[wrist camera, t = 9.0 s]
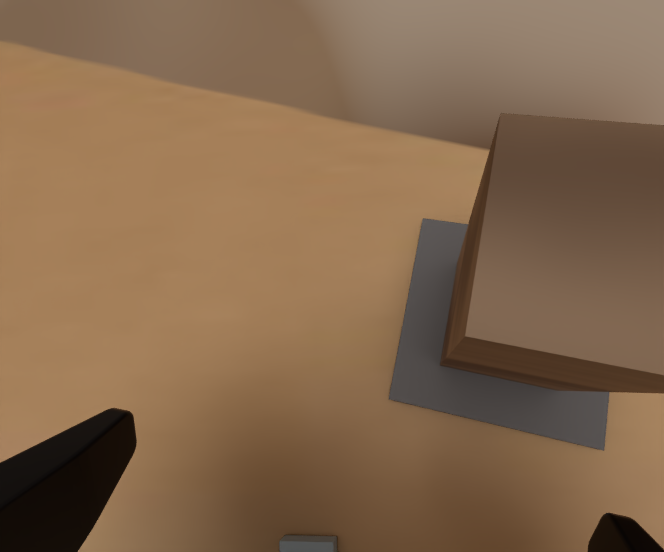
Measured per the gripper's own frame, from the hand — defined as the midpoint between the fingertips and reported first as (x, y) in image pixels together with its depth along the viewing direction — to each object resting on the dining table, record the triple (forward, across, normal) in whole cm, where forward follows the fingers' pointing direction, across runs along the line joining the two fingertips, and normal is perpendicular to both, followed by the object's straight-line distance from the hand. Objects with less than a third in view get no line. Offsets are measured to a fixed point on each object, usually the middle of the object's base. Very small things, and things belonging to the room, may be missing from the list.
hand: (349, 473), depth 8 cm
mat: (+13, -6, +3) cm, 14 cm away
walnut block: (+12, -6, +3) cm, 14 cm away
